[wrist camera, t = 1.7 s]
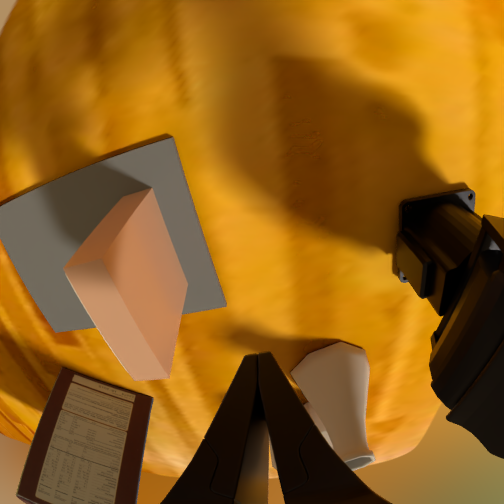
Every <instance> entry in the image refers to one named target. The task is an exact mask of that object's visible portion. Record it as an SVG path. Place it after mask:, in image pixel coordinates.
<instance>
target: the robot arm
mask: <svg viewBox="0 0 504 504" xmlns="http://www.w3.org/2000/svg"><path fill="white" fill-rule="evenodd" d="M469 194H470V196H469V197H468V195H469ZM408 205H409V208H408V209H407V210H405V207H406V206H408ZM474 206H475V192H474V191H473V190H471V189H470V188H467V189H461V190H455V191H450V192H444V193H439V194H433V195H428V196H423V197H417V198H412V199H407V200H404V201H402V202H401V203H400V205H399V232H398V234H397V252H396V265H397V266H398V278H399V280H400V281H401V282H403V283H406V282H409V283H410V284H411V286H412V287H413V289H414V290H415V292H416V293H417V295H418V296H419V297H420V298H422V299H424V298H427V299H428V301H429V302H430V304H431V305H432V306H433V308H434V309H435V311H436V312H437V314H438V315H439V316H443V318H442V320H441V322H440V324H439V326H438V328H437V330H436V331H434V332H433V334H432V336H431V345H432V352H431V355H430V362H429V367H430V372H431V376H432V380H433V381H432V382H431V387H432V389H433V390H434V392H435V394H436V395H437V397H438V398H439V399H440V400H441V401H442V403H443V404H444V405H445V406H446V407H448V408H449V409H451V411H450V412H449V413H448V415H447V416H446V419H447V420H448V421H450V422H452V423H455V424H457V425H460V426H462V427H463V428H465V429H467V430H468V431H469V432H471V433H472V434H473V435H474V436H475V437H476V438H477V439H478V440H479V441H480V442H481V443H482V444H483V445H484V447H485V448H486V449H487V450H488V451H489V452H490V453H491V454H493V455H495V456H498V457H500V458H503V459H504V218H500V217H495V216H490V215H483V218H481V217H480V216H479V215H477V214H476V213H475V212H474ZM403 276H404V277H403ZM269 436H270V441H271V445H272V450H273V454H274V458H275V463H276V467H277V471H278V476H279V480H280V484H281V488H282V492H283V495H284V501H285V504H392V503H390V502H389V501H387V500H386V499H384V498H382V497H381V496H379V495H378V494H376V493H375V492H374V491H372V490H371V489H370V488H369V487H368V486H367V485H366V484H365V483H363V482H362V481H361V479H359V477H358V476H357V475H356V474H355V473H354V472H353V471H352V470H351V469H350V468H349V467H348V466H347V465H346V463H345V462H344V461H343V460H342V459H341V458H340V457H339V456H338V455H337V453H336V452H335V451H334V450H333V449H332V447H331V446H330V445H329V444H328V442H327V441H326V439H325V438H324V436H323V435H322V434H321V432H320V430H319V429H318V427H317V426H316V425H315V423H314V421H313V420H312V418H311V416H310V415H309V413H308V412H307V410H306V408H305V407H304V405H303V404H302V402H301V400H300V399H299V397H298V396H297V394H296V392H295V391H294V389H293V387H292V386H291V384H290V383H289V381H288V379H287V378H286V376H285V374H284V373H283V371H282V369H281V368H280V366H279V364H278V363H277V361H276V359H275V358H274V356H273V354H272V353H271V352H270V351H266V352H261V353H259V354H256V353H255V354H249V355H245V356H244V358H243V360H242V362H241V364H240V366H239V368H238V370H237V373H236V375H235V377H234V379H233V381H232V383H231V385H230V387H229V389H228V391H227V393H226V395H225V397H224V399H223V401H222V403H221V405H220V407H219V409H218V411H217V413H216V415H215V417H214V419H213V421H212V423H211V425H210V427H209V429H208V431H207V433H206V435H205V437H204V438H205V439H203V440H202V442H201V444H200V446H199V448H198V450H197V452H196V453H195V455H194V457H193V459H192V460H191V462H190V463H189V465H188V466H187V468H186V469H185V471H184V472H183V474H182V475H181V476H180V478H179V479H178V481H177V482H176V484H175V485H174V486H173V487H172V489H171V490H170V492H169V493H168V494H167V496H166V497H165V498H164V500H163V501H162V502H161V503H160V504H268V470H269Z"/></svg>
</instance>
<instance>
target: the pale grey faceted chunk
mask: <svg viewBox="0 0 504 504" xmlns="http://www.w3.org/2000/svg"><path fill="white" fill-rule="evenodd" d="M304 407H305V408H306V410H307V412H308V413H309V415H310V416H311V418H312V420H313V421H314V423H315V425H316V426H317V427H318V429H319V430H320V432H321V434H322V435H323V436H324V438H325V439H326V441H327V442H328V444H329V445H330V446H331V447H332V449H333V445H332V442H331V440H330V438H329V435H328V433H327V431H326V428H325V426H324V425H323V423H322V421H321V420H320V418H319V417H318V415H317V414H316V412H315V410H314V409H313V407H312V406H311V404H310V403H309V402H307V403H306V404H304ZM269 443H270V451H271V459H272V467H274V468H275V469H277V467H276V463H275V458H274V454H273V450H272V445H271V441H270V436H269ZM333 450H334V449H333Z"/></svg>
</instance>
